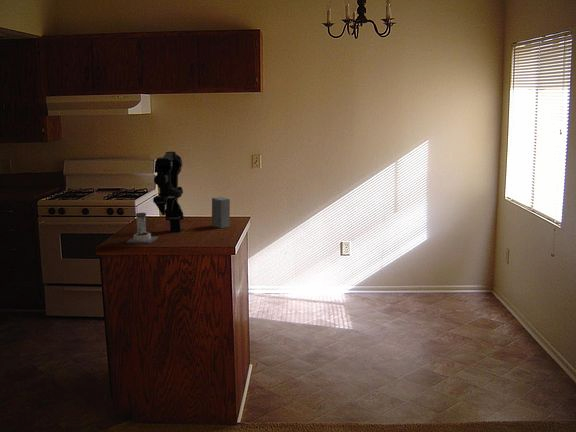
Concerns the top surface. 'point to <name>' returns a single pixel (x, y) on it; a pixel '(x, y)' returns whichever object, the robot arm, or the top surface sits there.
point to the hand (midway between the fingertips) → (167, 213)
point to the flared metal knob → (141, 224)
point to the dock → (142, 239)
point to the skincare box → (220, 212)
